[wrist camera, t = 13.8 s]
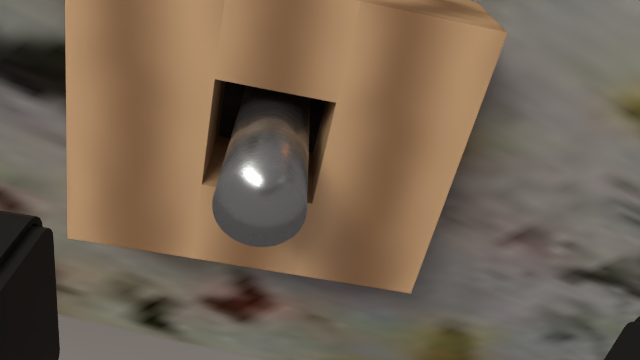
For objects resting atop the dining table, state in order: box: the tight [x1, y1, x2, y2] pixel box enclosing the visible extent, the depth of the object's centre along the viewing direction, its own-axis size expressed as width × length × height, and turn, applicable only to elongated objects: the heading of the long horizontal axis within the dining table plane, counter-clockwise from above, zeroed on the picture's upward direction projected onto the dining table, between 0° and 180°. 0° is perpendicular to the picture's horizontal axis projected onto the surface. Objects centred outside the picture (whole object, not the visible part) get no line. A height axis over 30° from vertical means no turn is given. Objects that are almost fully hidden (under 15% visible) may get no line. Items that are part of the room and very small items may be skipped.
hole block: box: [65, 0, 508, 293], centre depth 32 cm, size 20×16×6 cm
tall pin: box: [212, 86, 310, 247], centre depth 30 cm, size 4×4×12 cm
